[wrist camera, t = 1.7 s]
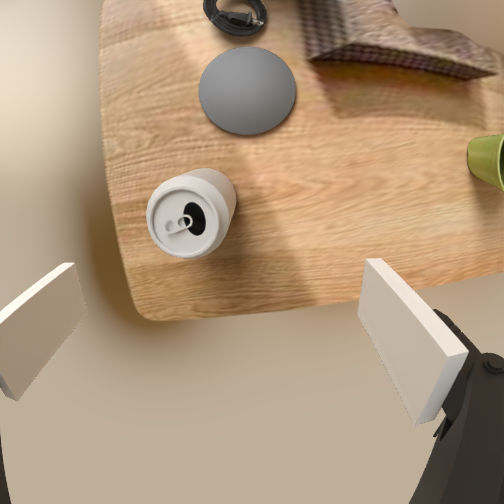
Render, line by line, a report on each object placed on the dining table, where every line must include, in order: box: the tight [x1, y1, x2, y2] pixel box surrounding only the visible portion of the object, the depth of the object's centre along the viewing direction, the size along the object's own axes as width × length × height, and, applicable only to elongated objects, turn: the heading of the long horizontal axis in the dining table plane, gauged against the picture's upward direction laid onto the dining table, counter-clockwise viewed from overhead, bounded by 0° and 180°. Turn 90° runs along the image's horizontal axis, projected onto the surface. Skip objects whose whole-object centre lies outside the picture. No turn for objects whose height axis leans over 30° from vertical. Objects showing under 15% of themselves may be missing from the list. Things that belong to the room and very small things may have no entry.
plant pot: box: [467, 133, 504, 193], centre depth 27 cm, size 9×9×9 cm
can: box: [146, 168, 236, 259], centre depth 29 cm, size 8×8×12 cm
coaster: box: [199, 47, 296, 135], centre depth 30 cm, size 11×11×1 cm
